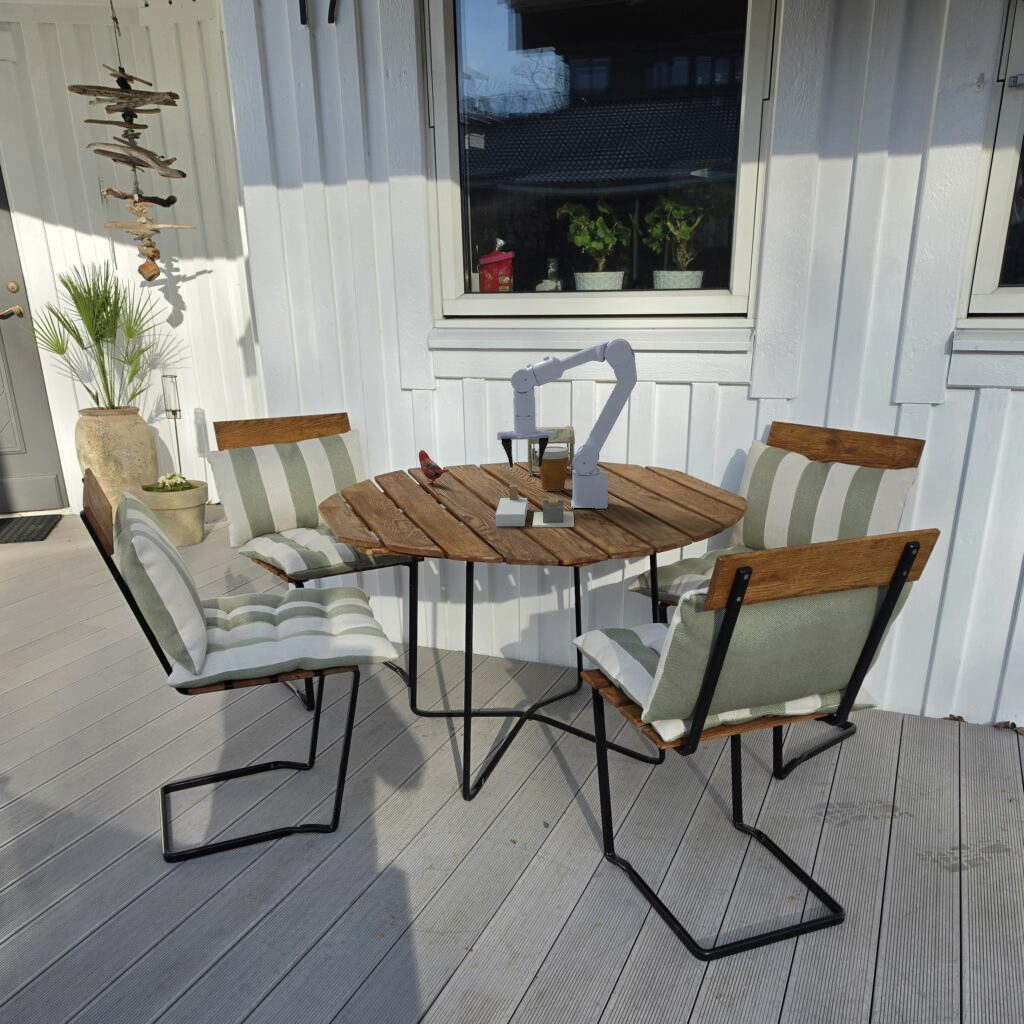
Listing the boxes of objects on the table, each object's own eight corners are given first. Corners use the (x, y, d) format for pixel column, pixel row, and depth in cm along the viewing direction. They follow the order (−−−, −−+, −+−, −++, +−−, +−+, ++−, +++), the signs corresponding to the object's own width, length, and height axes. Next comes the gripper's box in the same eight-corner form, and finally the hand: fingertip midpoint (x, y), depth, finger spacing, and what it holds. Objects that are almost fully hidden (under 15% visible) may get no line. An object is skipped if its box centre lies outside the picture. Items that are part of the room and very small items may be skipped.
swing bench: (528, 477, 235) (527, 430, 231) (527, 470, 244) (526, 425, 240) (575, 475, 235) (575, 428, 231) (572, 469, 244) (572, 424, 240)
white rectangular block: (527, 508, 198) (527, 484, 196) (524, 526, 182) (523, 500, 181) (501, 509, 198) (500, 485, 197) (495, 526, 183) (494, 500, 181)
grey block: (563, 513, 190) (563, 496, 189) (563, 522, 183) (563, 504, 181) (543, 513, 191) (543, 496, 189) (542, 522, 183) (542, 504, 182)
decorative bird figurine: (424, 479, 235) (422, 448, 232) (454, 489, 221) (452, 456, 218) (415, 481, 233) (414, 449, 230) (445, 491, 219) (444, 457, 216)
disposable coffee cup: (575, 491, 215) (575, 450, 212) (545, 495, 212) (544, 453, 208) (561, 484, 223) (560, 444, 220) (531, 488, 220) (530, 447, 217)
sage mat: (573, 513, 192) (573, 511, 192) (573, 526, 181) (573, 524, 180) (534, 513, 193) (534, 512, 193) (532, 527, 181) (532, 525, 181)
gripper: (495, 418, 193) (497, 469, 197) (552, 417, 192) (552, 469, 196) (497, 414, 200) (499, 464, 203) (552, 413, 199) (553, 463, 202)
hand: (525, 466), depth 200 cm, fingers open, 7 cm apart
